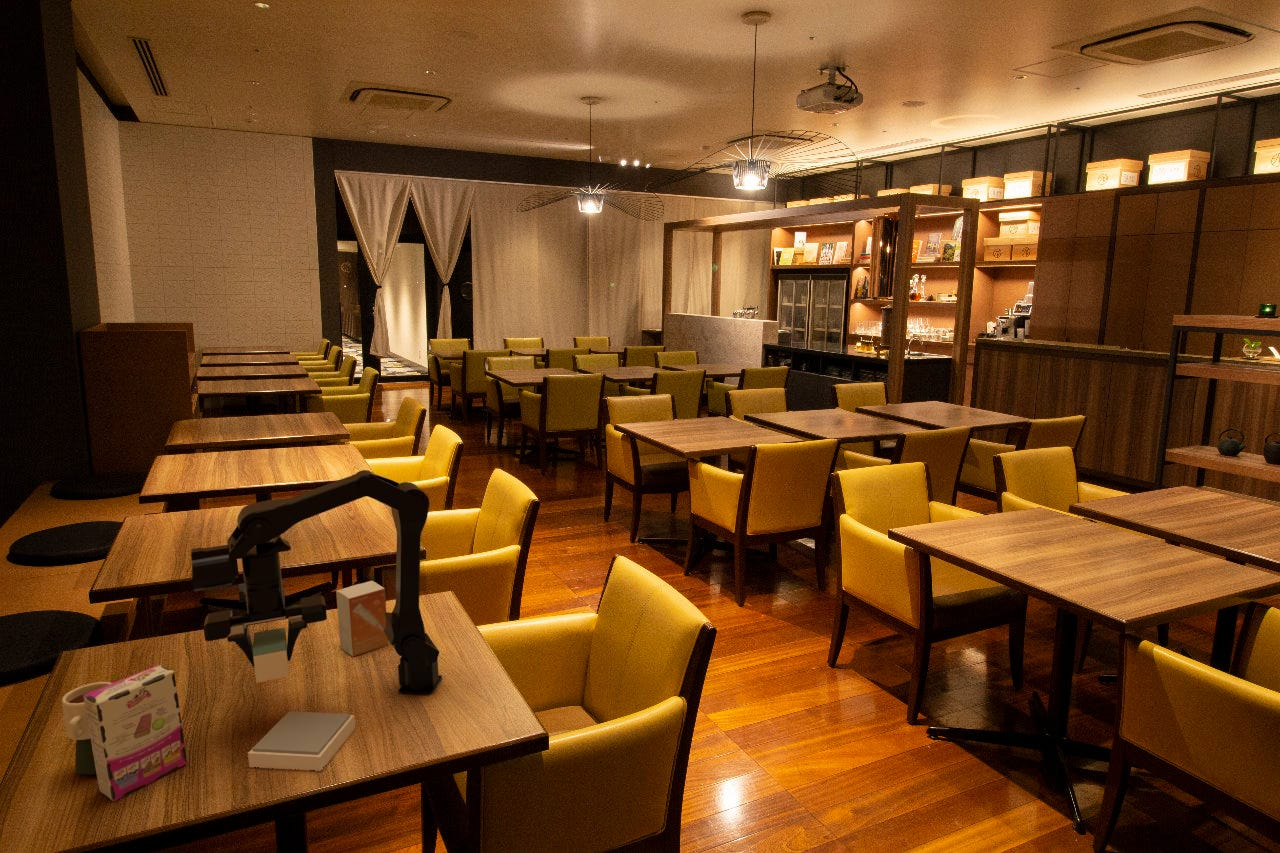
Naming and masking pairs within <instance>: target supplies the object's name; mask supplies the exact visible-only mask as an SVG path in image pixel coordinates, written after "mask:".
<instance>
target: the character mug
mask: <svg viewBox="0 0 1280 853" xmlns="http://www.w3.org/2000/svg"><path fill="white" fill-rule="evenodd" d="M112 683H113V682H109V681H97V682H92V683H88V684H85V685H80V686H79V687H76V688H74V689H72V690H69V691H68V692H67V693H65V694H64V695H63V696H62V698H61V706H62V712H63V718H64V723H65V724H64V725H65V726H64V727H65V731H66V736H67V737H68V739H71V740H72V741H75V754H74V755H75V757H74V759H75V760H74V762H75V768H74V769H75V773H77V774H79V775H97V773H96V767H95V762H94V755H93V750H92V744H91V737H90V732H89V725H88V720H87V714H86V709H85V703H84V697H83V695H85V694H87V693H90V692H92V691H95V690H97V689H100V688H102V687H105V686H107V685H110V684H112Z"/></svg>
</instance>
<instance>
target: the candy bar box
mask: <svg viewBox="0 0 1280 853" xmlns="http://www.w3.org/2000/svg"><path fill="white" fill-rule="evenodd" d="M111 683H112V684H110V685H107V686H105V687H102V688H100V689H97V690H95V691H92V692H90V693H87V694H85V695H83V697H84V703H85V709H86V714H87V720H88V725H89V732H90V737H91V744H92V750H93V755H94V762H95V767H96V773H97V774H96V778H97V784H98V789H99V792H100V793H101V794H102V795H104V796H105V797H107V798H108V799H109V800H110V801H112V802H117V801H119V800H120V799H122V798H124V797H126V796H128V795H130V794H132V793H134V792H136V791H138V790H140V789H142V788H144V787H146V786H147V785H149V784H151V783H153V782H155V781H157V780H159V779H161V778H163V777H165V776H167V775H169V774H170V773H172V772H175V771H176V770H178V769H180V768H182V767H183V766H186V765H187V764H188V759H187V750H186V744H185V737H184V731H183V730H184V729H183V723H182V717H181V709H180V703H179V694H178V689H177V682H176V674H175V671H174V670H172V669H170V668H167V667H166V666H164V665H162V664H157V665H154V666H152V667H149V668H146V669H145V670H141V671H139V672H137V673H135V674H131V675H130V676H126V677H125V678H122V679H119V680H117V681H114V682H111Z"/></svg>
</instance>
